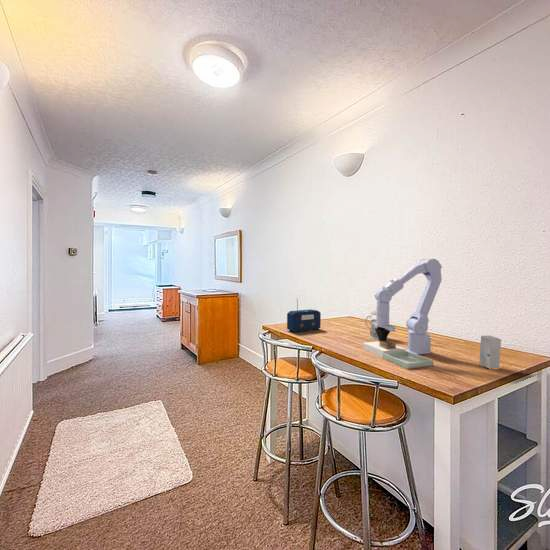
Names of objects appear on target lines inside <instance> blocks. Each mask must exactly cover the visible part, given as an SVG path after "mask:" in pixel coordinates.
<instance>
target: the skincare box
mask: <svg viewBox="0 0 550 550" xmlns="http://www.w3.org/2000/svg"><path fill="white" fill-rule="evenodd" d="M479 345H480V346H479V347H480V348H479V363H478V364H479V365H480V366H482V365H483V366H485V367H487V368H499V369H500V362H501V361H500V360H501V347H502V339H500V338H498V337H497V336H492V335H480V344H479ZM483 366H482V367H483ZM485 367H484V368H485ZM487 368H486V369H487Z"/></svg>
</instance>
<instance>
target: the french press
mask: <svg viewBox="0 0 550 550" xmlns="http://www.w3.org/2000/svg"><path fill="white" fill-rule="evenodd" d="M376 312H377V310H374V311H371V312H370V315H368V316H367V317H366V318H365V325H366V327H367V328H368V329H370V330H369V332H370V333H369V336H368V338H369V339H371V338H372V340H376V339H378V341H379V338H378V335H377V333H376V331H375V329H376V328H378V327H376V326H372V322H376V318H375V319H371V322H370V327H369V326H368V323H367V320H368V318H372V315H374V316H376Z"/></svg>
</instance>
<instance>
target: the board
mask: <svg viewBox="0 0 550 550" xmlns="http://www.w3.org/2000/svg"><path fill="white" fill-rule="evenodd" d="M379 343H380V342H379V340H378V341H370V342H363V343H362V350H364V349H365V350H364V351H366V350H367V352H369V353H371V354H373V353H374V354H373V355H375V354H376V356H378V357H381V358H382V356H383V353H389V352H399V351H405V349H406V348H404V347H402V346H399V345H396V348H394V349H385V348H382V347H380V346H379Z"/></svg>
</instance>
